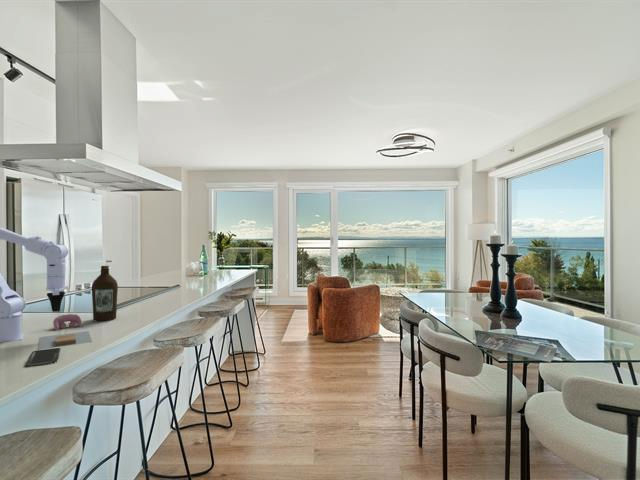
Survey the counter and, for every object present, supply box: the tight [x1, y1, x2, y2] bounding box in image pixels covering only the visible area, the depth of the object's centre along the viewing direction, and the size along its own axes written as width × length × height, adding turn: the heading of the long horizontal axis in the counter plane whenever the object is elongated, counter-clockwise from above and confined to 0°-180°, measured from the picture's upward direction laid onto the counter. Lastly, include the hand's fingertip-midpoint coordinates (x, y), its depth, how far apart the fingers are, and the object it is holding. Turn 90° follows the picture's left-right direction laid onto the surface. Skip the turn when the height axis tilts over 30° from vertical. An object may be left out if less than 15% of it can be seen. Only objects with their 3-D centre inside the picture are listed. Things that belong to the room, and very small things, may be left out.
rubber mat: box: [37, 330, 93, 350], centre depth 139 cm, size 18×16×1 cm
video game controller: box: [52, 313, 83, 331], centre depth 156 cm, size 10×5×7 cm, turn 135°
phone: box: [25, 347, 62, 368], centre depth 120 cm, size 8×1×15 cm
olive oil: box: [91, 265, 119, 322], centre depth 173 cm, size 11×11×25 cm
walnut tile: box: [55, 334, 76, 347], centre depth 135 cm, size 2×6×8 cm
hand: (55, 311), depth 142 cm, fingers closed
